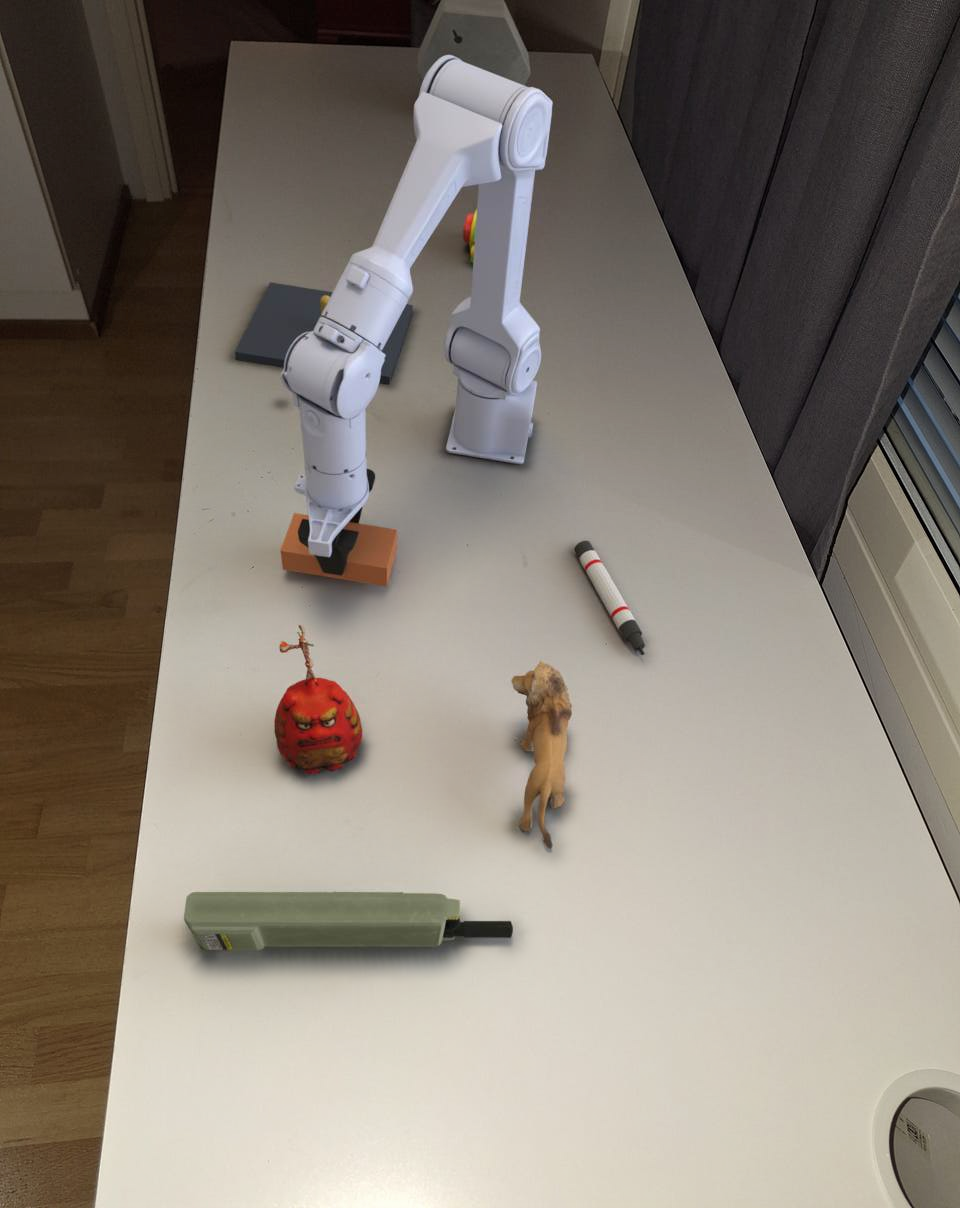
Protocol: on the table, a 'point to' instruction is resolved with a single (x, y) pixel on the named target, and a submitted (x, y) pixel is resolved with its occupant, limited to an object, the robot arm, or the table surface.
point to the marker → (610, 595)
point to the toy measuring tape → (470, 232)
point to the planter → (476, 39)
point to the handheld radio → (330, 920)
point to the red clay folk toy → (316, 721)
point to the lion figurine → (544, 740)
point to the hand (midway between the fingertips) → (340, 549)
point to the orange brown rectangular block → (363, 562)
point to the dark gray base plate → (301, 326)
